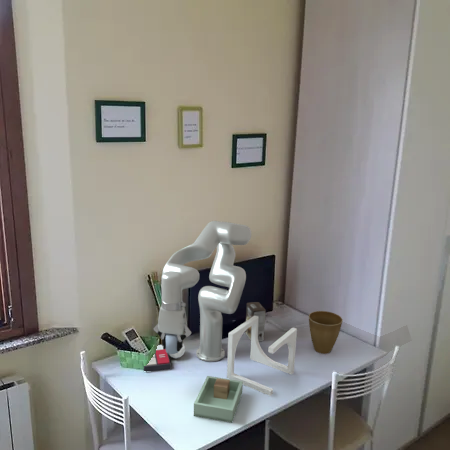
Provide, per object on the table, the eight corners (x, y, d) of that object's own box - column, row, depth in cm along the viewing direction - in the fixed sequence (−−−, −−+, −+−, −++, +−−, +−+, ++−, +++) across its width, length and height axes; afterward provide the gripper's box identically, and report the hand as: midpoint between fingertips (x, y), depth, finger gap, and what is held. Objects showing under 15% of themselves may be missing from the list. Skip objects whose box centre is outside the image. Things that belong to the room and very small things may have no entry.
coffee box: (244, 333, 226) (246, 302, 222) (257, 332, 228) (258, 301, 224) (251, 342, 218) (252, 310, 214) (264, 341, 220) (266, 309, 216)
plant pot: (342, 359, 206) (346, 325, 202) (308, 357, 206) (311, 324, 202) (335, 342, 221) (338, 310, 216) (304, 341, 221) (306, 309, 217)
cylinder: (168, 346, 181) (168, 329, 179) (180, 348, 180) (180, 331, 178) (163, 352, 176) (163, 336, 174) (176, 354, 175) (176, 337, 173)
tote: (207, 387, 183) (207, 375, 182) (242, 392, 180) (242, 381, 179) (193, 416, 166) (193, 403, 165) (232, 422, 163) (232, 410, 162)
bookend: (293, 372, 195) (297, 328, 190) (270, 396, 179) (273, 348, 174) (252, 357, 206) (254, 315, 200) (226, 378, 190) (228, 333, 184)
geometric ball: (173, 364, 203) (163, 354, 199) (173, 349, 209) (163, 339, 205) (188, 358, 201) (178, 348, 197) (188, 343, 208) (178, 333, 203)
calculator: (143, 365, 191) (140, 345, 205) (144, 374, 192) (140, 354, 206) (170, 362, 194) (165, 342, 207) (170, 371, 195) (165, 351, 209)
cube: (216, 389, 180) (217, 378, 179) (229, 391, 179) (229, 380, 178) (213, 397, 175) (213, 385, 174) (226, 399, 174) (227, 387, 173)
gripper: (197, 303, 175) (196, 346, 180) (154, 297, 178) (154, 340, 183) (191, 311, 168) (190, 356, 173) (146, 305, 171) (147, 350, 176)
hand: (172, 348), depth 178 cm, fingers closed on cylinder, 4 cm apart
